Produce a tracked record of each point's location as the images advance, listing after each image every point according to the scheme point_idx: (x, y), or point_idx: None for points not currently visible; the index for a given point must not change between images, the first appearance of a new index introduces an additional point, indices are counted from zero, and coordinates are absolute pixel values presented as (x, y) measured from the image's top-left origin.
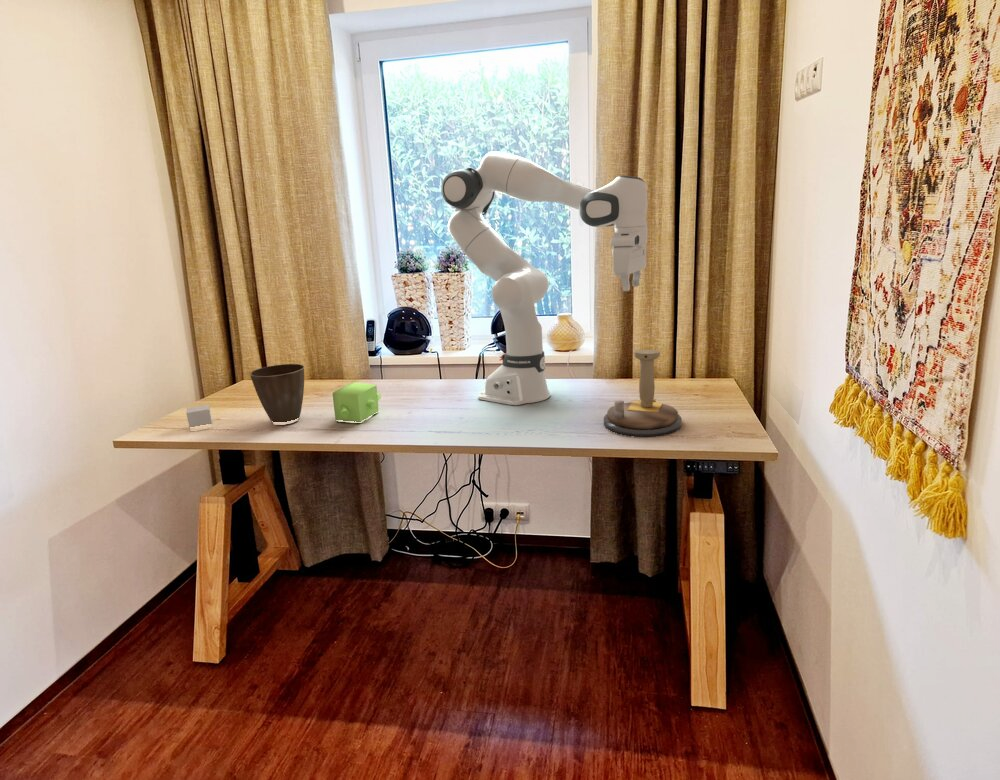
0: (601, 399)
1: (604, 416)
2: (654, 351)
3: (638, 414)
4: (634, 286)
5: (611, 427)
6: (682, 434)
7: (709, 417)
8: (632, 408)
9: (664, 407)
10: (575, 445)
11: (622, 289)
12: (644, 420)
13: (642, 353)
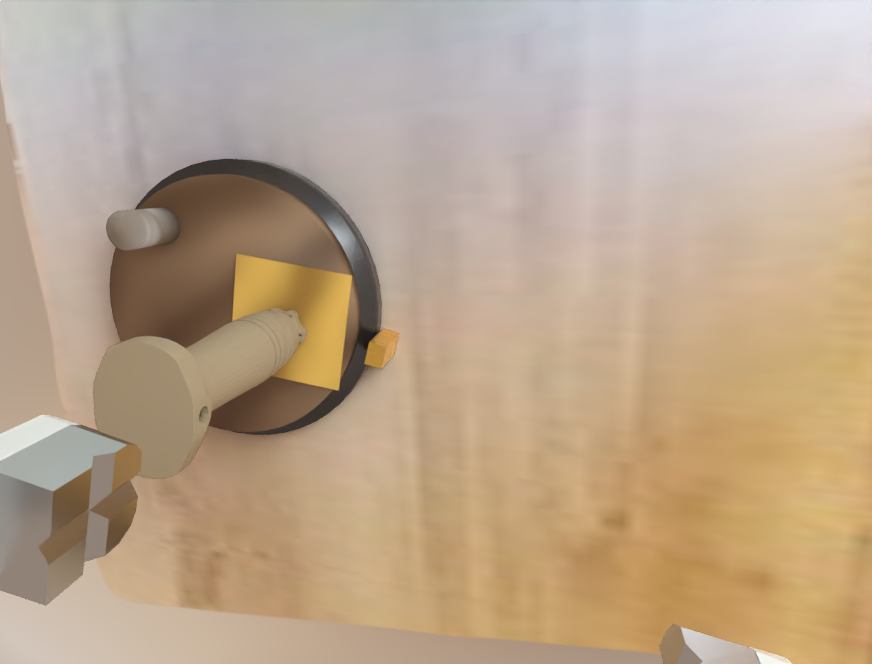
0: (555, 119)
1: (243, 160)
2: (151, 452)
3: (198, 296)
4: (661, 651)
5: (147, 195)
6: None
7: (341, 518)
8: (253, 274)
9: (289, 392)
10: (19, 80)
11: (37, 418)
12: (140, 315)
13: (96, 385)
